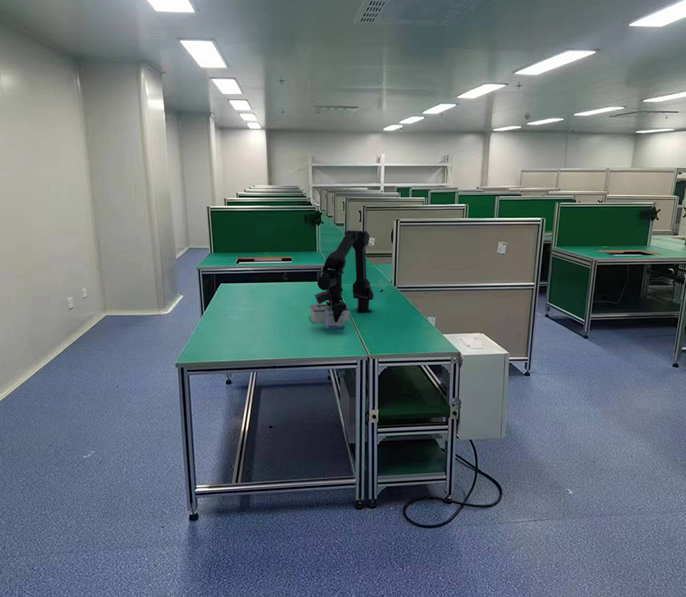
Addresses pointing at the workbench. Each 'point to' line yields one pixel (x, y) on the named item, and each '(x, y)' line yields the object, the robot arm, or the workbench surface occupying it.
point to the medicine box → (330, 319)
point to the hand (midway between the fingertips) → (334, 320)
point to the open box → (322, 313)
